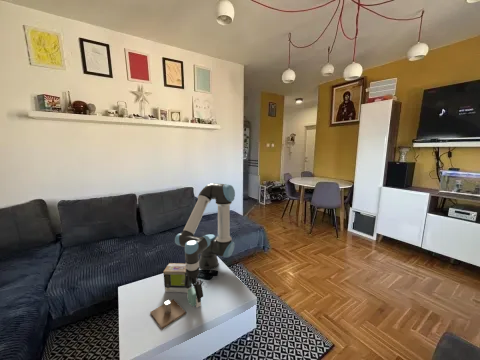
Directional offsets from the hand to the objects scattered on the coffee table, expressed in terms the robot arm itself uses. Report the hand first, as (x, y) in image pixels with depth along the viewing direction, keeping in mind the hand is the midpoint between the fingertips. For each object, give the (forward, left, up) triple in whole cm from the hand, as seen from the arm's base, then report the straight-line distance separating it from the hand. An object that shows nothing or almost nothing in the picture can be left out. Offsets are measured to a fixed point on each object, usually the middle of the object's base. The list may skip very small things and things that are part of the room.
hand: (194, 301), depth 125 cm
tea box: (0, -18, -1) cm, 18 cm away
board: (+15, -3, 0) cm, 15 cm away
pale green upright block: (0, 0, 0) cm, 0 cm away
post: (+15, -3, 0) cm, 15 cm away
